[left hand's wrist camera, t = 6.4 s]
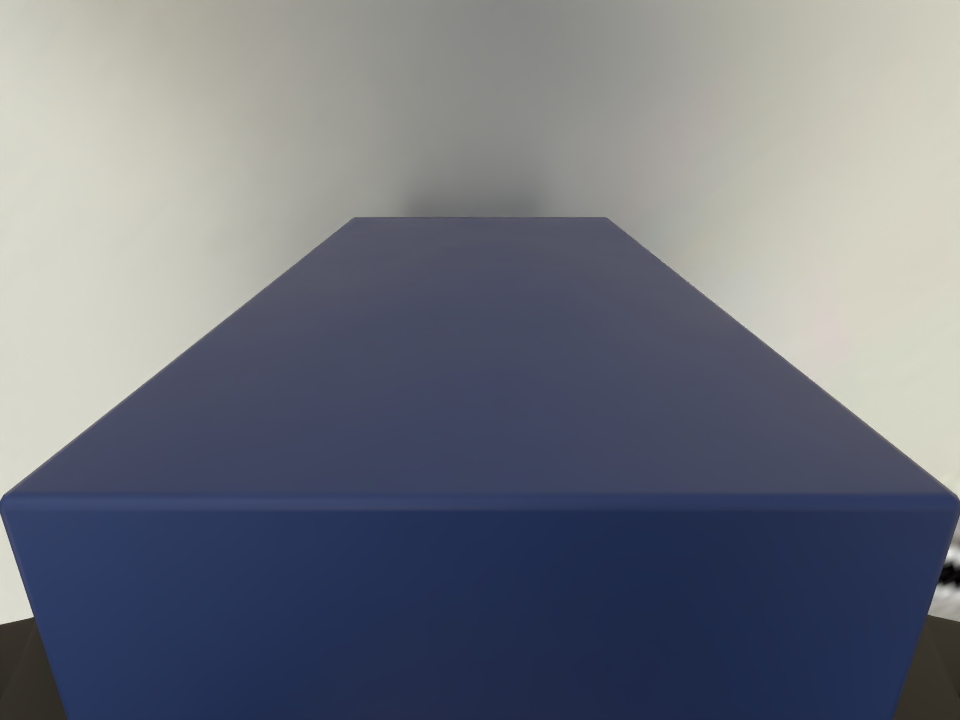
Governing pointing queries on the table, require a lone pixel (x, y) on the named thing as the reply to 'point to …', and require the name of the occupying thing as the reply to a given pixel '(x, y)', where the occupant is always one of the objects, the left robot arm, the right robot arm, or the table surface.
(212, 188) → the table surface
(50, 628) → the box
